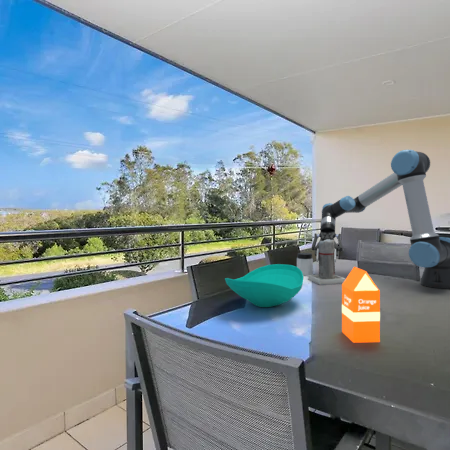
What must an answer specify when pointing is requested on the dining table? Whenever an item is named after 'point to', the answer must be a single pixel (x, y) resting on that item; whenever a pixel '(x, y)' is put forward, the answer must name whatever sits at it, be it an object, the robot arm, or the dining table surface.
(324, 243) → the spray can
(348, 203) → the robot arm
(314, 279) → the tray
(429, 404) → the dining table surface
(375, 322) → the orange juice
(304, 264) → the jar
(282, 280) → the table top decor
